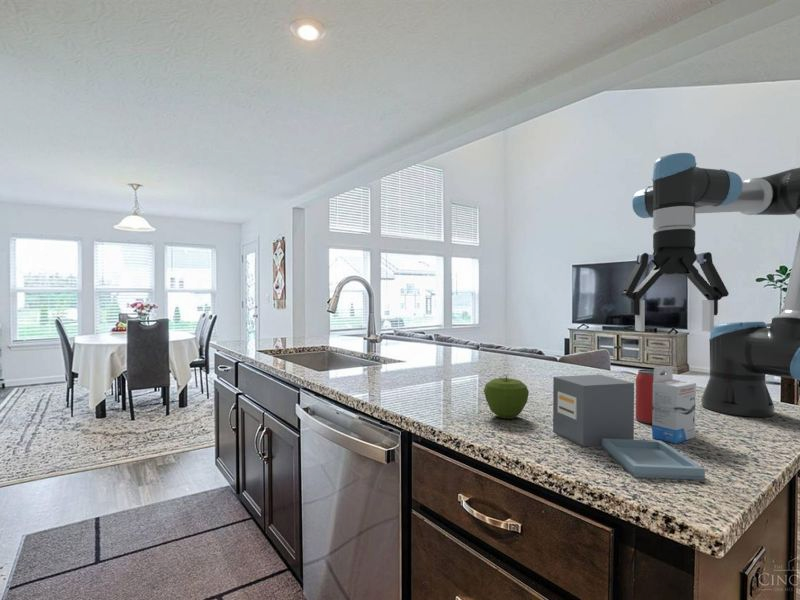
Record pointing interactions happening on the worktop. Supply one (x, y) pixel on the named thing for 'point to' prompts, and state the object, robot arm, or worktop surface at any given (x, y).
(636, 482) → the worktop surface
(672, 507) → the worktop surface
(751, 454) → the worktop surface
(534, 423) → the worktop surface
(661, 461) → the tray
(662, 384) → the ink box
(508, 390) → the apple
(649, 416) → the beer can
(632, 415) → the box
